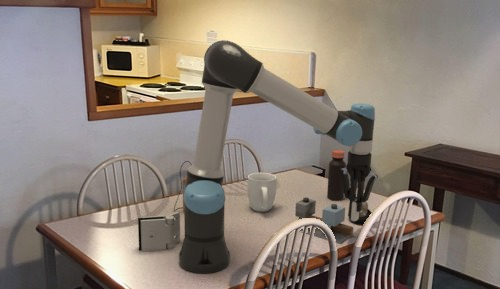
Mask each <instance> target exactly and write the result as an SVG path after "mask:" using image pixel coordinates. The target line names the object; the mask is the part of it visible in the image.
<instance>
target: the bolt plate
mask: <svg viewBox="0 0 500 289" xmlns="http://www.w3.org/2000/svg"><path fill="white" fill-rule="evenodd" d="M331 230H332V229H331ZM300 231H303V229H301V230H300ZM300 231H299V232H300ZM332 232H333V234H334V236H335V239H336V242H337V243H336V242H335V243H336V244H339V243H341V244H342V243H344V242H345V241H347V240H348V239H349V238H351V237H350V235H349V234H345V233H342V232H339V231H335V230H332ZM309 233H310V228H308V235H310V234H309ZM314 236H315V237H316V238H320V239H324V240H326V241H328V240H327V238H326V236H325V234H324V233H323V232H322V231H321V230H320V229H318V228H316V229H315V233H314Z"/></svg>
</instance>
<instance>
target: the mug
mask: <svg viewBox="0 0 500 289" xmlns="http://www.w3.org/2000/svg"><path fill="white" fill-rule="evenodd" d="M276 192H277V175H275V174H273V173H270V172H253V173H249V174H248V176H247V197H248V201H249V204H250V206H251V208H252V210H253V211H255V212H258V213H259V212H262V213H265V212H268V211H270V210H271V209H272V207H273V205H274V202H275V199H276V195H277V193H276Z"/></svg>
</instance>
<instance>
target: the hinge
mask: <svg viewBox="0 0 500 289" xmlns="http://www.w3.org/2000/svg"><path fill="white" fill-rule="evenodd" d="M137 224H138V225H137V226H138V251H141V252H149V251H150V252H151V251H164V250H165V251H166V250H167V249H168V250H170V249H174V248H175V244H176V243H179V242H181V212H180V211H175V212H174V213H171V214H167V215H155V216H153V215H151V216H140V217H138V218H137Z"/></svg>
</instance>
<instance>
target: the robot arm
mask: <svg viewBox="0 0 500 289" xmlns="http://www.w3.org/2000/svg"><path fill="white" fill-rule="evenodd" d="M203 64H204V65H203V71H202V72H203V73H202V79H201V84H202V86H203V87H204V89H205V90H204V91H205V92H204V98H203V102H202V110H201V115H200V121H199V128H198V133H197V134H198V135H197V141H196V147H195V151H194V152H195V153H194V158H193V163H192V165H191V164H190V166H188V168H187V171H186V177H185V178H186V181H185V184H184V186H183V185H182V197H183V196H184V212H183V213H184V216H183V217H184V239H183V242H182V245H181V248H180V251H179V254H178V264H179V266H180V268H182V269H184V270H186V271H187V272H191V273H196V274H209V273H216V272H219V271H222V270H224V269H226V268H227V267H228V266H229V265H230V261H231V252H230V251H229V249H228V245H227V242H226V238H225V203H226V193H225V189H224V187H223V184H224V177H225V173H224V171H223V170H222V168H221V167H222V162H223V155H224V149H225V145H226V140H227V139H226V138H227V134H228V133H227V132H228V128H229V127H228V126H229V122H230V116H231V110H232V104H233V100H234V99H233V98H234V94H235V93H237V92H238V91H239V90H240V91H241V92H243V93H244V94H248V93H252V94H253V95H255V96H257V97H259V98H261V99H263V100H264V101H266V102H268V103H270V104H271V105H274V106H275V107H277V108H279V109H280V110H282V111H284V112H286V113H287V114H290V115H291V116H293V117H294V118H297V119H298V120H300V121H301V122H303V123H304V124H306V125H308V126H310V127H312V129H313V132H314V133H315V134H316V135H323V136H325V135H326V136H328V137H330V138H331V139H333V140H335V141H337V142H338V143H339V144H340V145H343V146H345V147H347V150H348V153H347V160H346V161H347V163H346V168H343V169H340V170H339V172H340V174H341V176H342V183H343V189H344V198H345V199H348V200H349V202H350V206H349V205H348V210H349V209H350V210H352V211H351V221H356V220H358V218H359V212H360V211H361V210H362V202H367V201H368V200H369V198H370V195H371V192H372V190H373V187H374V183H375V181H376V180H377V179H378V174H374V172H372V168H371V164H372V153H371V152H372V151H373V142H374V141H373V139H374V129H375V128H374V127H375V121H376V119H375V118H376V117H375V116H376V112H375V111H376V110H375V109H376V108H375V106H374V105H372V104H370V103H369V104H368V103H353V104H352V105H351V107H350V110H336V109H334V108H332V107H331V106H329V105H328V104H326V103H324V102H322V101H321V100H320V99H317V98H316V97H314V96H312V95H311V94H309V93H308V92H305V91H304V90H302V89H300V88H299V87H297V86H296V85H294V84H292V83H291V82H288V81H287V80H285V79H283V78H282V77H280V76H278V75H276V74H275V73H273V72H271V71H269V69H266V68H265V67H264V63H263V62H261V61H260V60H258V59H257V58H255V57H253V56H252V55H251V54H250V53H249V52H247V51H246V50H245V49H244V48H243V47H242V46H241V45H239V44H237V43H235V42H233V41H230V40H224V39H223V40H222V39H221V40H217V41H215V42H213V43H212V44H211V45H209V46H208V47H207V49H206V51H205V53H204V57H203ZM349 177H350V178H349ZM367 177H368V178H367ZM366 178H367V179H368V181H367V184H366V186H365V181H366ZM356 197H357V200H355V199H356ZM351 221H350V222H351Z"/></svg>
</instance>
